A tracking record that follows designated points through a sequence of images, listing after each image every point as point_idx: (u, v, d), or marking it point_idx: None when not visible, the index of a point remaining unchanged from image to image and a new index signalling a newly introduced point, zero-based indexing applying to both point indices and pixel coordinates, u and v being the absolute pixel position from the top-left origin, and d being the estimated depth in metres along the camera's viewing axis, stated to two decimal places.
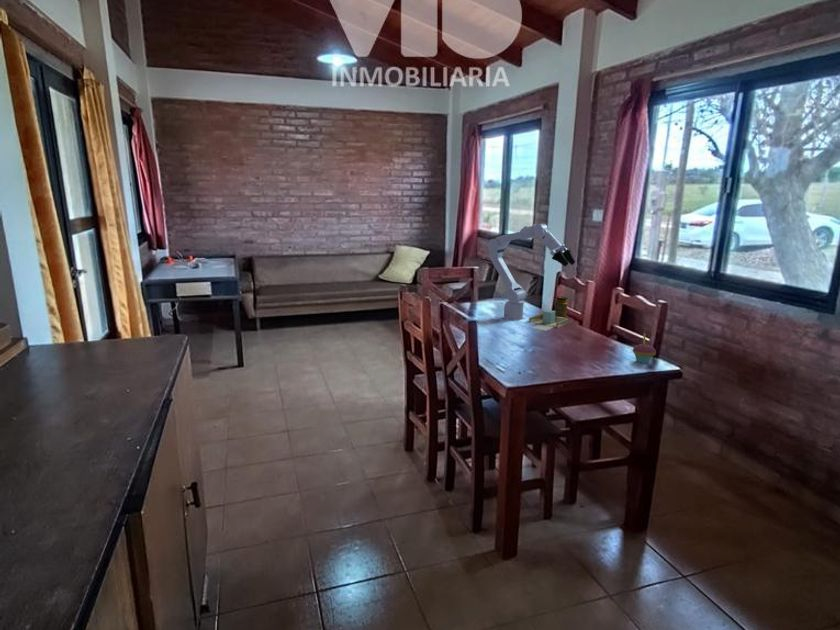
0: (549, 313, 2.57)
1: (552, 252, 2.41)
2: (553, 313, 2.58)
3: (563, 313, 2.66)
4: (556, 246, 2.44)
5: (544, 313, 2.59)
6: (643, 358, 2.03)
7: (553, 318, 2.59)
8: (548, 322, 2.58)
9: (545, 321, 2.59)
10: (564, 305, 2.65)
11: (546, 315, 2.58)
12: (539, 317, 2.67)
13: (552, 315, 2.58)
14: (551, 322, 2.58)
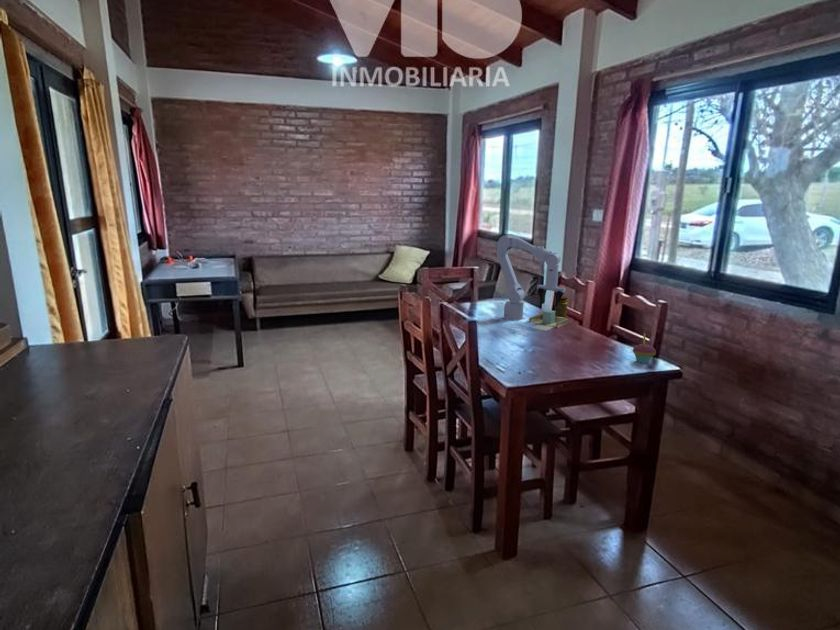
0: (549, 313, 2.57)
1: (564, 290, 2.52)
2: (553, 313, 2.58)
3: (563, 313, 2.66)
4: None
5: (544, 313, 2.59)
6: (643, 358, 2.03)
7: (553, 318, 2.59)
8: (548, 322, 2.58)
9: (545, 321, 2.59)
10: (564, 305, 2.65)
11: (546, 315, 2.58)
12: (539, 317, 2.67)
13: (552, 315, 2.58)
14: (551, 322, 2.58)
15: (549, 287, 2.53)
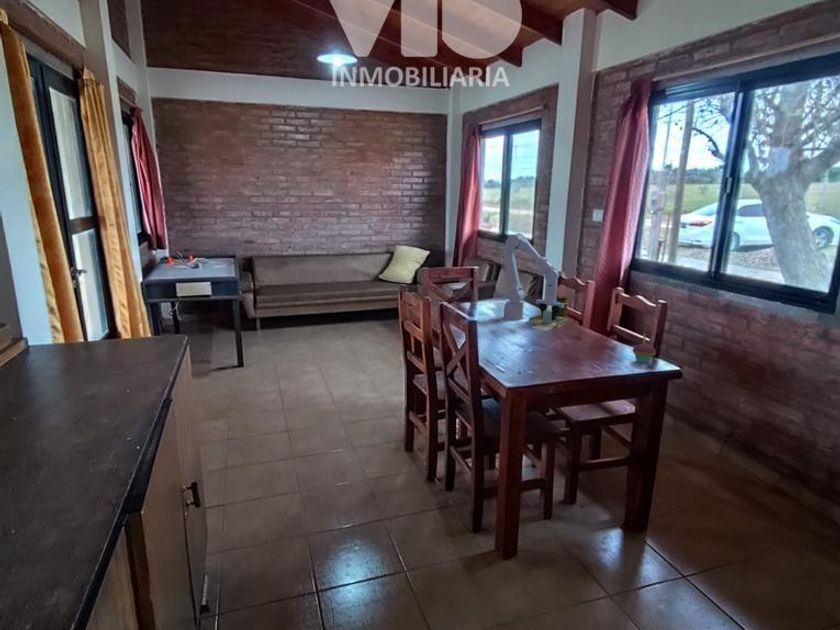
0: (549, 313, 2.57)
1: (563, 305, 2.54)
2: None
3: (563, 313, 2.66)
4: None
5: (544, 313, 2.59)
6: (643, 358, 2.03)
7: None
8: (548, 322, 2.58)
9: (545, 321, 2.59)
10: (564, 305, 2.65)
11: (546, 315, 2.58)
12: (539, 317, 2.67)
13: None
14: (551, 322, 2.58)
15: (548, 303, 2.55)
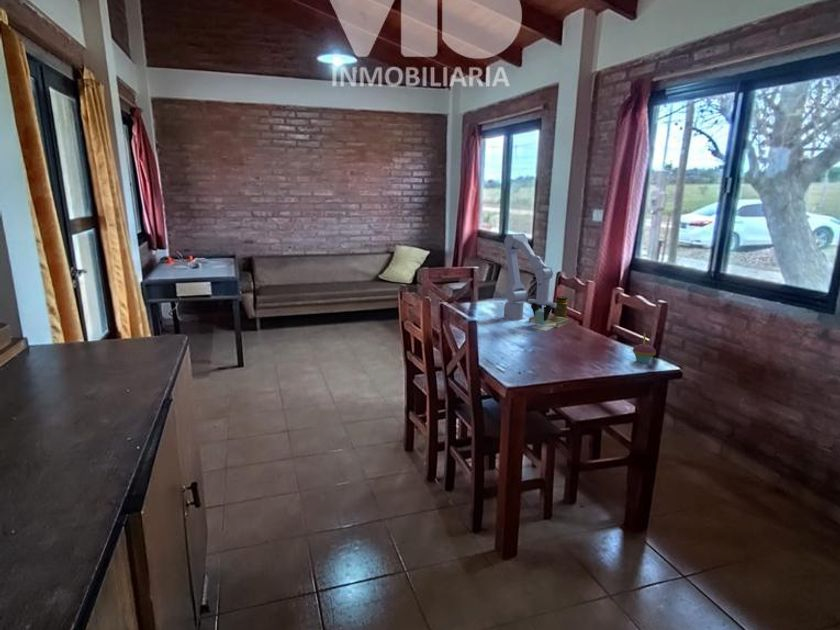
0: (541, 313, 2.50)
1: (555, 305, 2.47)
2: None
3: (563, 313, 2.66)
4: None
5: (536, 313, 2.52)
6: (643, 358, 2.03)
7: None
8: (540, 322, 2.52)
9: (537, 321, 2.53)
10: (564, 305, 2.65)
11: (538, 315, 2.52)
12: None
13: None
14: (543, 322, 2.52)
15: (540, 302, 2.49)
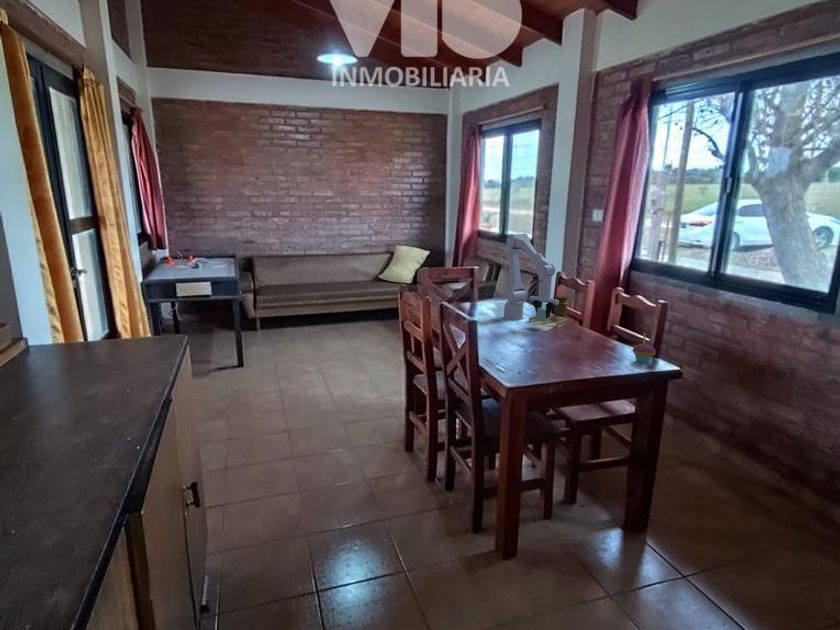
0: (543, 311, 2.47)
1: (558, 302, 2.44)
2: None
3: (563, 313, 2.66)
4: None
5: (538, 311, 2.49)
6: (643, 358, 2.03)
7: None
8: (542, 320, 2.48)
9: (539, 319, 2.49)
10: (564, 305, 2.65)
11: (540, 313, 2.49)
12: None
13: None
14: (545, 320, 2.48)
15: (542, 299, 2.45)
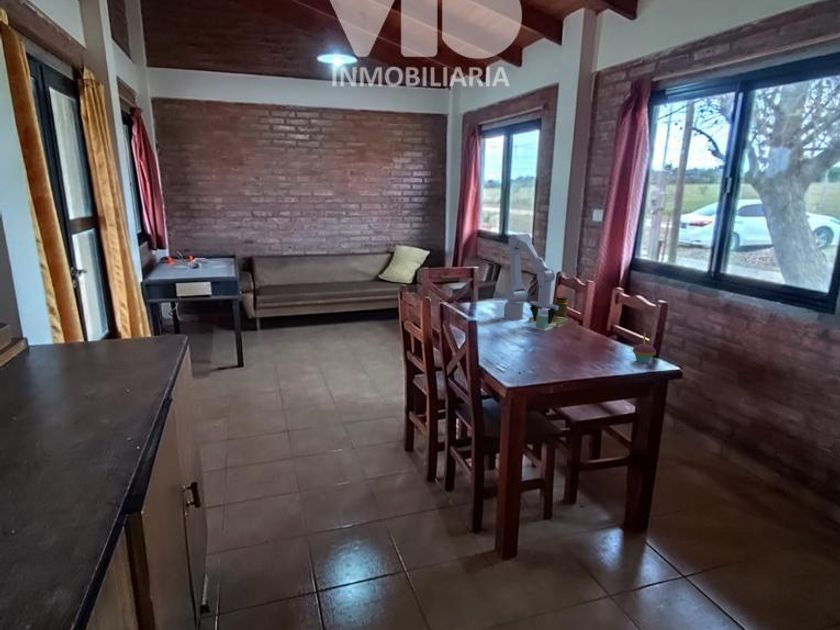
0: (543, 318, 2.48)
1: (557, 308, 2.45)
2: (547, 317, 2.49)
3: (563, 313, 2.66)
4: (549, 301, 2.48)
5: (537, 318, 2.50)
6: (643, 358, 2.03)
7: (547, 323, 2.50)
8: (542, 327, 2.49)
9: (539, 326, 2.50)
10: (564, 305, 2.65)
11: (540, 320, 2.49)
12: None
13: (546, 320, 2.49)
14: (545, 327, 2.49)
15: (542, 305, 2.46)
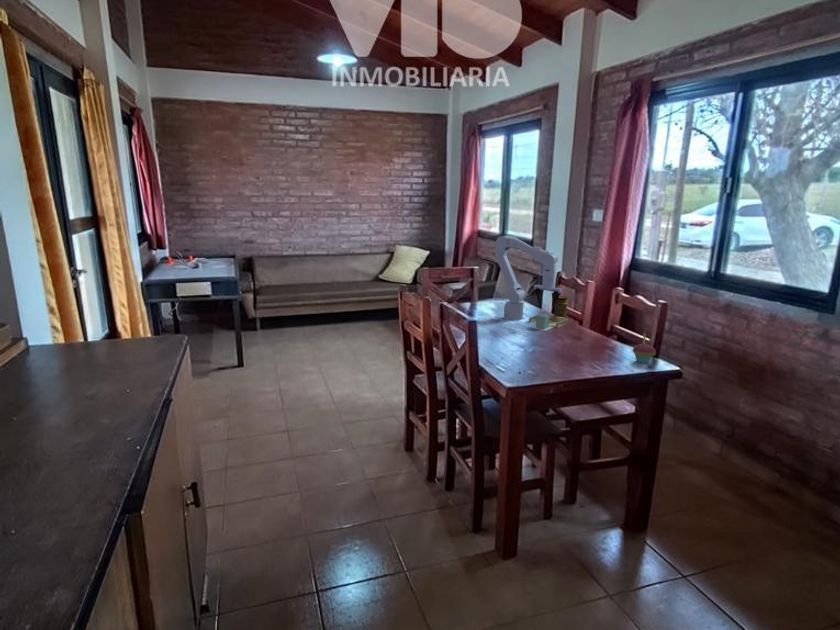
0: (543, 318, 2.48)
1: (561, 290, 2.51)
2: (547, 317, 2.49)
3: (563, 313, 2.66)
4: (553, 285, 2.55)
5: (537, 318, 2.50)
6: (643, 358, 2.03)
7: (547, 323, 2.50)
8: (542, 327, 2.49)
9: (539, 326, 2.50)
10: (564, 305, 2.65)
11: (540, 320, 2.49)
12: None
13: (546, 320, 2.49)
14: (545, 327, 2.49)
15: (546, 288, 2.53)
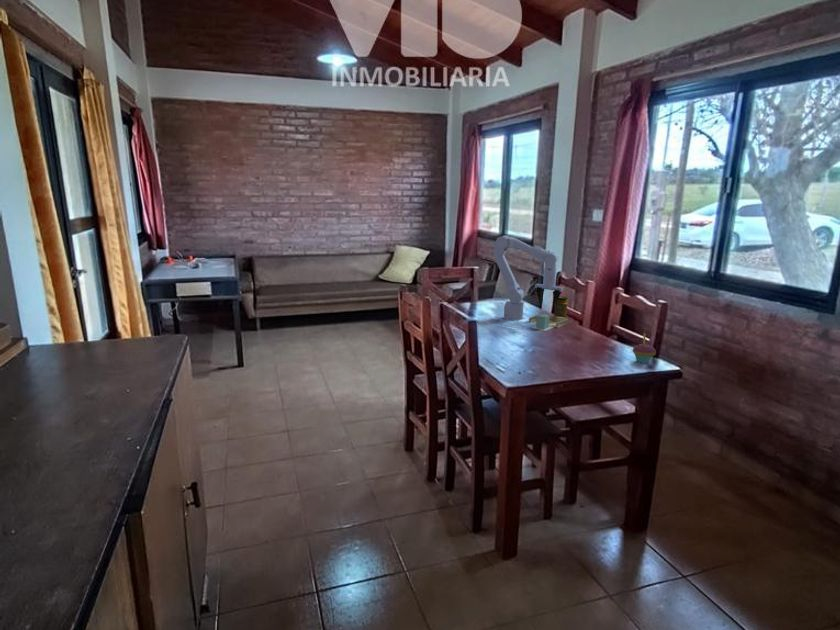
0: (543, 318, 2.48)
1: (562, 289, 2.54)
2: (547, 317, 2.49)
3: (563, 313, 2.66)
4: (554, 283, 2.58)
5: (537, 318, 2.50)
6: (643, 358, 2.03)
7: (547, 323, 2.50)
8: (542, 327, 2.49)
9: (539, 326, 2.50)
10: (564, 305, 2.65)
11: (540, 320, 2.49)
12: None
13: (546, 320, 2.49)
14: (545, 327, 2.49)
15: (547, 286, 2.56)
